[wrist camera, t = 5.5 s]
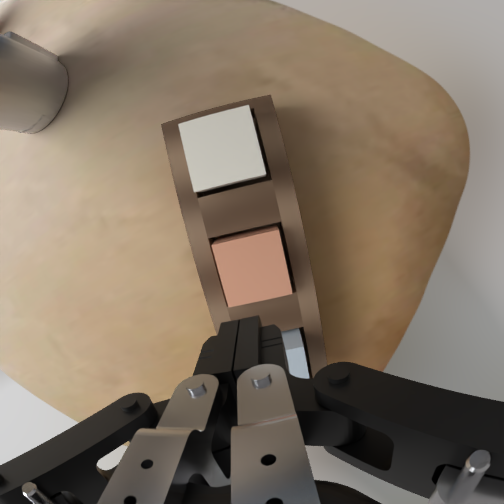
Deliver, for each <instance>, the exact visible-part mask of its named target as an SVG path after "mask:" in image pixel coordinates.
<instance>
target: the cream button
mask: <svg viewBox="0 0 504 504" xmlns="http://www.w3.org/2000/svg"><path fill="white" fill-rule="evenodd" d="M178 126H179V130H180V135H181V139H182V144H183V148H184V152H185V157H186V161H187V165H188V170H189V174H190V178H191V182H192V186H193V190H194V192H205V191H208V190H212V189H216V188H220V187H224V186H228V185H232V184H236V183H240V182H244V181H248V180H252V179H257V178H261V177H265V176H266V171H265V167H264V163H263V159H262V155H261V151H260V147H259V143H258V139H257V135H256V131H255V127H254V123H253V119H252V115H251V111H250V108H249V105H246V106H242V107H238V108H234V109H230V110H226V111H222V112H218V113H214V114H211V115H207V116H204V117H200V118H197V119H193V120H190V121H187V122H183V123H180V124H178Z"/></svg>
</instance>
